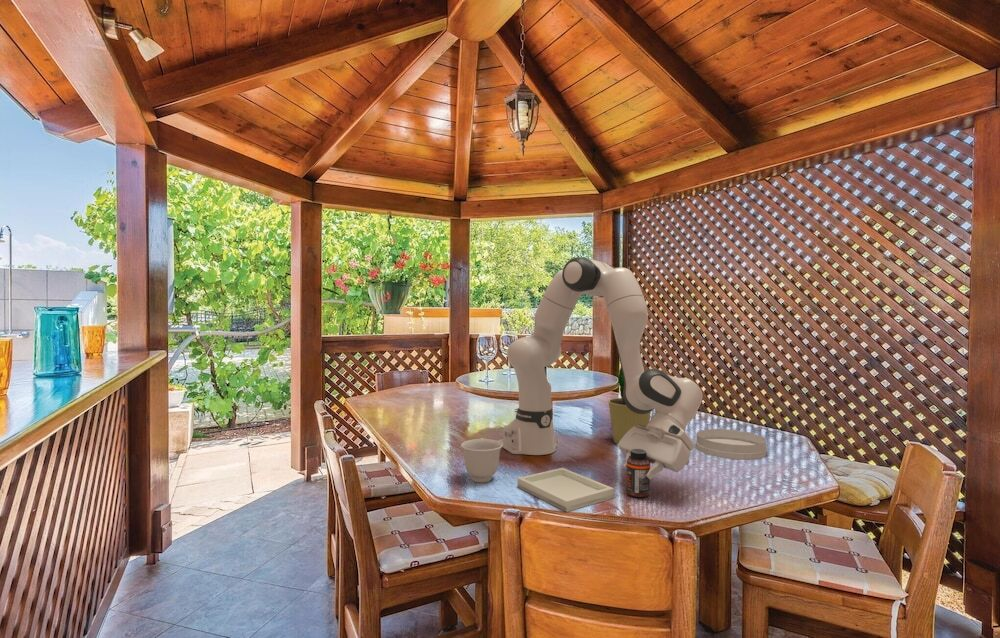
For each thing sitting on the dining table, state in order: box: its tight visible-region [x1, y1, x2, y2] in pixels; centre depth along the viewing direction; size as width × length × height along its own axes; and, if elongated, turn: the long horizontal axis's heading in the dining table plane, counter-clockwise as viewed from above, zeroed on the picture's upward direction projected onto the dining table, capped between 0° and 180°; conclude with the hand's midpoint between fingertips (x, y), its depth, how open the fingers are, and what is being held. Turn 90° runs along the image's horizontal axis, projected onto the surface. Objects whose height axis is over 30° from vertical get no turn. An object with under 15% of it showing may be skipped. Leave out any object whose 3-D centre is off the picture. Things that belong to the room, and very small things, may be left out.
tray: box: [517, 467, 615, 513], centre depth 133 cm, size 20×16×2 cm
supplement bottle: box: [625, 449, 651, 498], centre depth 132 cm, size 6×6×11 cm
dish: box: [695, 428, 768, 461], centre depth 174 cm, size 22×22×5 cm
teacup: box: [460, 437, 503, 483], centre depth 145 cm, size 12×15×10 cm
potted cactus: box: [608, 365, 652, 445], centre depth 183 cm, size 15×15×30 cm
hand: (636, 473), depth 131 cm, fingers closed on supplement bottle, 6 cm apart
